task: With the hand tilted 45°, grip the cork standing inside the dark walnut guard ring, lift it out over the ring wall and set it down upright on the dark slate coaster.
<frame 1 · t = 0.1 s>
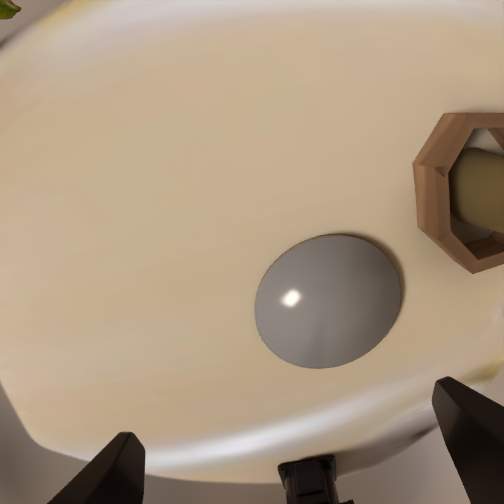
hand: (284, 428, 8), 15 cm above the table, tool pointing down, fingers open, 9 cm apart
cork: (471, 185, 20), resting in guard ring
slate coaster: (329, 306, 23), on the table
guard ring: (473, 185, 20), on the table
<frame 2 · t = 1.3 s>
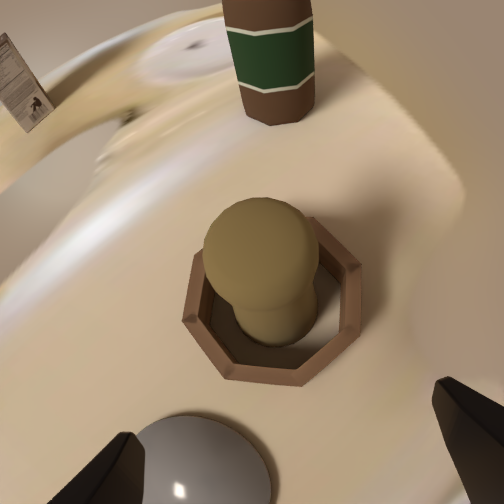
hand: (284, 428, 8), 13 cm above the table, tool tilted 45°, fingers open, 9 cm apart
cork: (276, 306, 23), resting in guard ring
coffee box: (37, 113, 41), on the table
slate coaster: (193, 484, 18), on the table
beer bottle: (278, 105, 32), on the table
guard ring: (275, 305, 23), on the table
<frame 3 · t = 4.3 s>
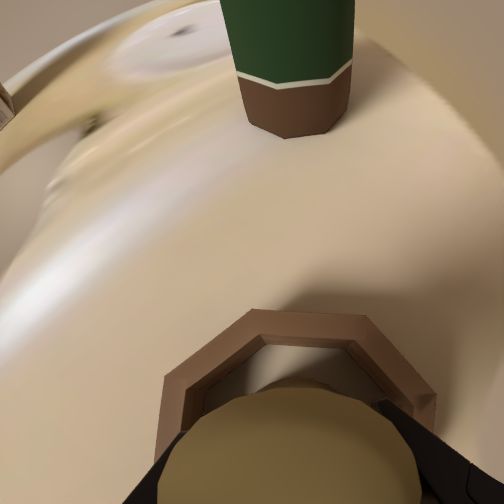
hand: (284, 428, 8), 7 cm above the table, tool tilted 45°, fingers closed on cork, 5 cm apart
cork: (295, 437, 13), resting in guard ring, touching gripper
beer bottle: (295, 107, 22), on the table
guard ring: (295, 438, 13), on the table
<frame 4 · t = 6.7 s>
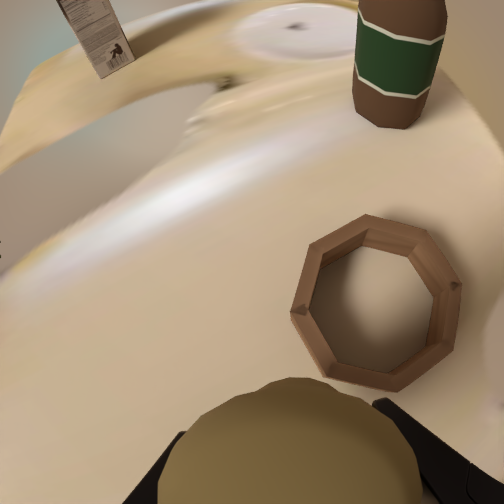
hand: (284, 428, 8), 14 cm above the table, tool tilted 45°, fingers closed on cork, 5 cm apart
cork: (295, 436, 13), point 7 cm above the table, touching gripper
coffee box: (113, 61, 41), on the table
beer bottle: (385, 107, 29), on the table
guard ring: (374, 308, 22), on the table
when the fingers open (8 cm above the table, at t = 9.2 s): cork drops 1 cm, resting on slate coaster.
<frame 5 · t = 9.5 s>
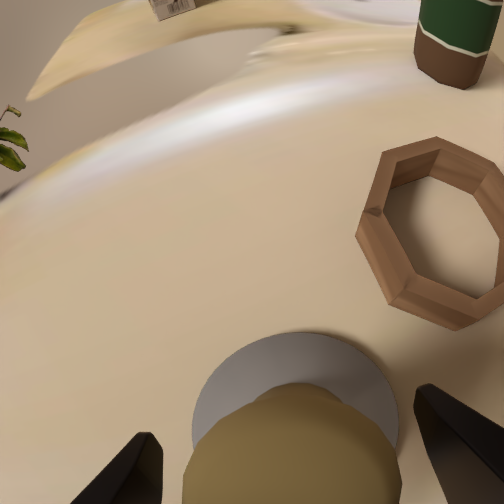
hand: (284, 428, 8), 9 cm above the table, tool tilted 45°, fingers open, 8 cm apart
cork: (296, 437, 15), resting on slate coaster
coffee box: (173, 8, 39), on the table
slate coaster: (295, 432, 15), on the table
beer bottle: (444, 70, 25), on the table
guard ring: (442, 237, 18), on the table
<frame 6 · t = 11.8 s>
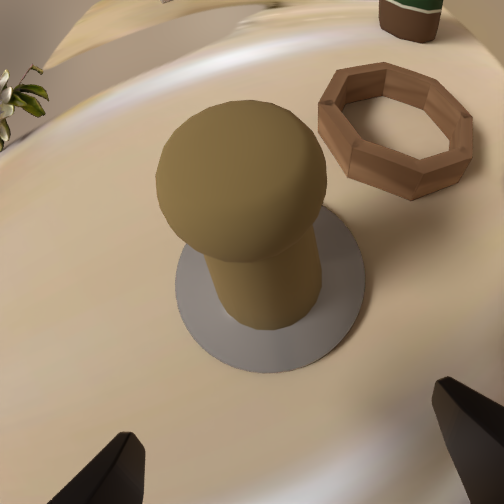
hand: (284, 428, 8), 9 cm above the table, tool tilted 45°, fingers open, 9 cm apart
passion flower: (19, 125, 32), on the table
cork: (268, 278, 18), resting on slate coaster
slate coaster: (268, 277, 19), on the table
beer bottle: (406, 30, 29), on the table
guard ring: (394, 135, 22), on the table
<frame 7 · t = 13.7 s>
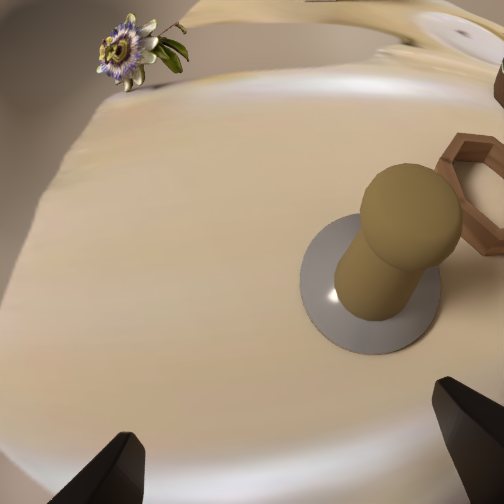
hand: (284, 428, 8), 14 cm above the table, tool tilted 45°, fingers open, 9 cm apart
passion flower: (149, 73, 39), on the table
cork: (373, 281, 22), resting on slate coaster
slate coaster: (372, 281, 23), on the table
guard ring: (484, 199, 24), on the table
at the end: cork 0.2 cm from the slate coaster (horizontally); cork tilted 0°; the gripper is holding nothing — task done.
